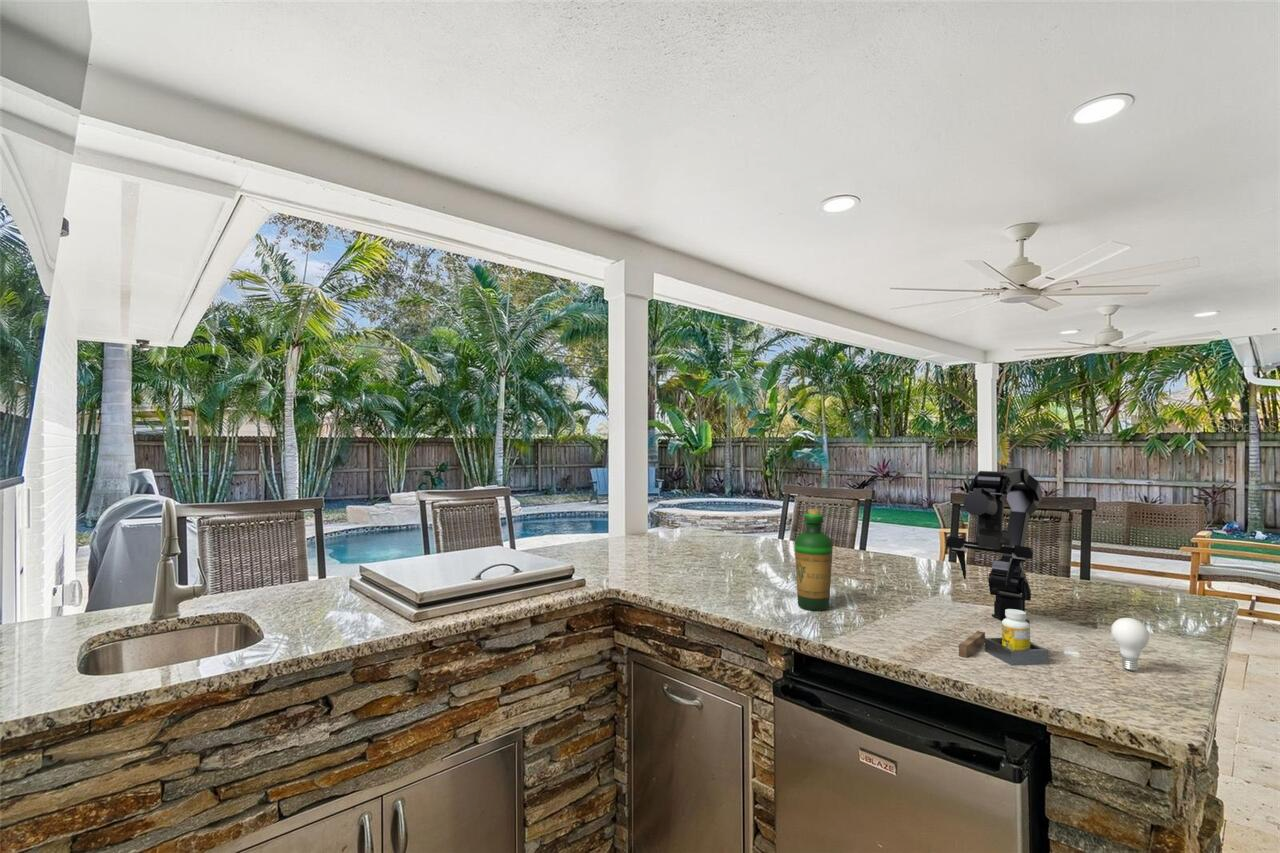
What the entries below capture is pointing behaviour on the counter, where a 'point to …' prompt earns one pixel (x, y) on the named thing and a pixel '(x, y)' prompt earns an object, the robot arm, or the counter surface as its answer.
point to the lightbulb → (1130, 640)
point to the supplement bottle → (1015, 630)
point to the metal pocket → (1017, 653)
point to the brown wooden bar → (971, 644)
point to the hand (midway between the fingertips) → (985, 582)
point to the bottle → (813, 564)
